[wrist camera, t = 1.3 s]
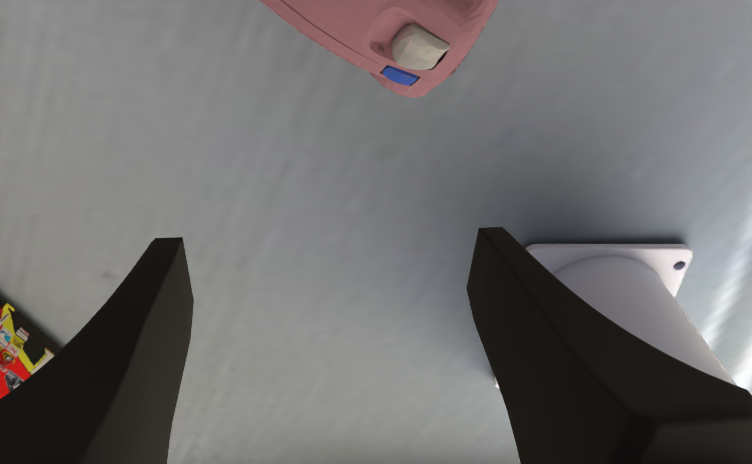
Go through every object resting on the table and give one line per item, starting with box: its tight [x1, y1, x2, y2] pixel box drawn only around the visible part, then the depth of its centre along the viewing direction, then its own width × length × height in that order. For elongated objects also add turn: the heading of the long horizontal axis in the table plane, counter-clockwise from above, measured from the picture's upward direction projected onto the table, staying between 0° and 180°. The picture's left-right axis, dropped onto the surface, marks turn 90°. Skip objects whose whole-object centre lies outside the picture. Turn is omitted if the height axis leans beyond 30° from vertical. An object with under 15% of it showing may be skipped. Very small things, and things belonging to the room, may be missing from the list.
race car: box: [0, 303, 61, 399], centre depth 28 cm, size 13×5×4 cm, turn 24°
